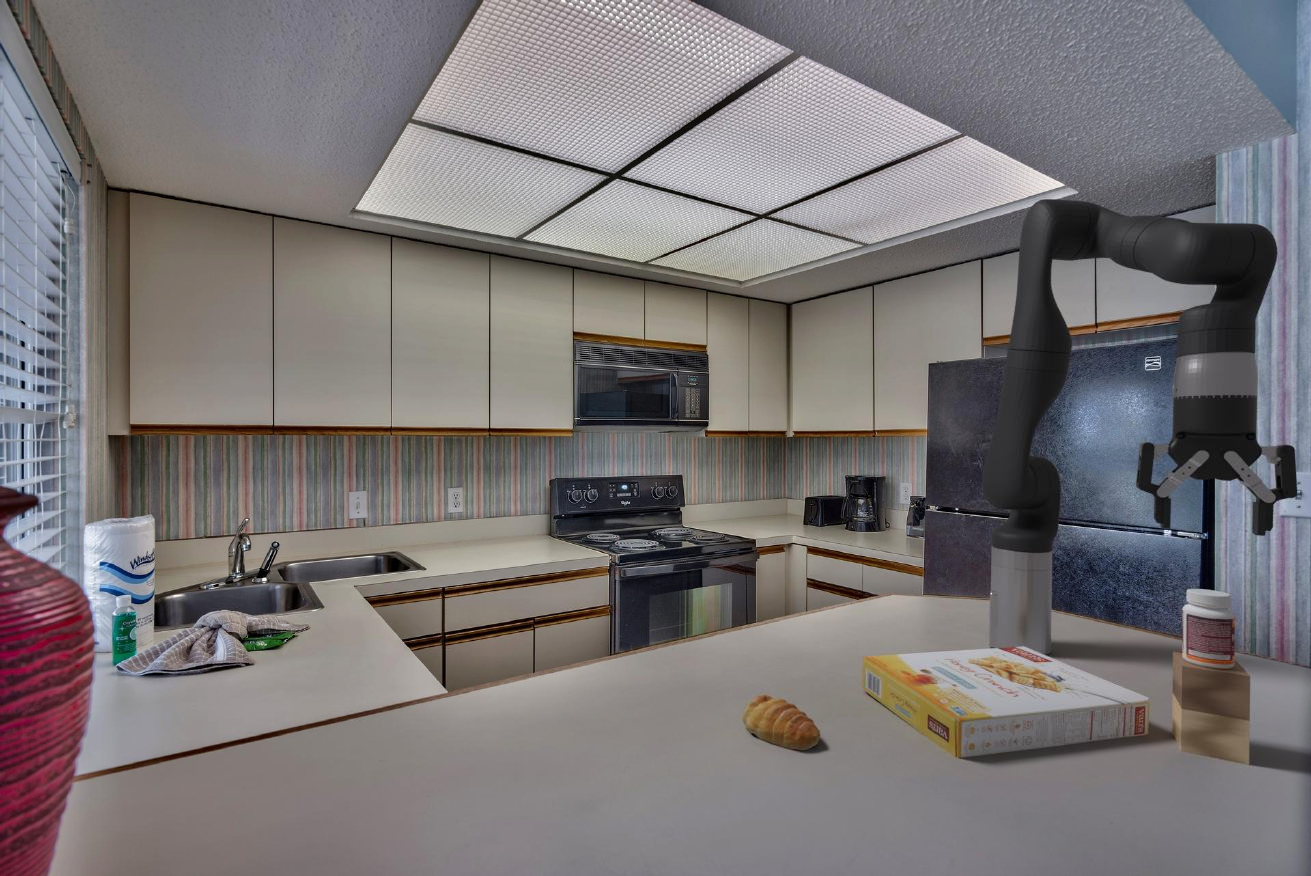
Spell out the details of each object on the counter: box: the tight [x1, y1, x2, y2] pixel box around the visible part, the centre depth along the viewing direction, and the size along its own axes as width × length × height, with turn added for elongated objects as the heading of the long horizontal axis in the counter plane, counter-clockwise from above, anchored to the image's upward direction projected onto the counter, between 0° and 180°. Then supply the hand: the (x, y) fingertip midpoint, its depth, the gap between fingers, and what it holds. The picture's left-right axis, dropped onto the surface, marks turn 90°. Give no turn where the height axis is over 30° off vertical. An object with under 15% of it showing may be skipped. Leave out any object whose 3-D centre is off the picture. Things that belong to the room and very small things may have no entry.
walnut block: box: [1172, 651, 1251, 721], centre depth 77 cm, size 6×6×5 cm
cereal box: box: [861, 646, 1151, 759], centre depth 87 cm, size 20×6×28 cm
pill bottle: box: [1181, 588, 1236, 669], centre depth 77 cm, size 5×5×8 cm
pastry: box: [742, 694, 821, 751], centre depth 79 cm, size 9×7×4 cm
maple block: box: [1171, 693, 1251, 766], centre depth 77 cm, size 6×6×5 cm
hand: (1210, 531), depth 77 cm, fingers open, 8 cm apart
